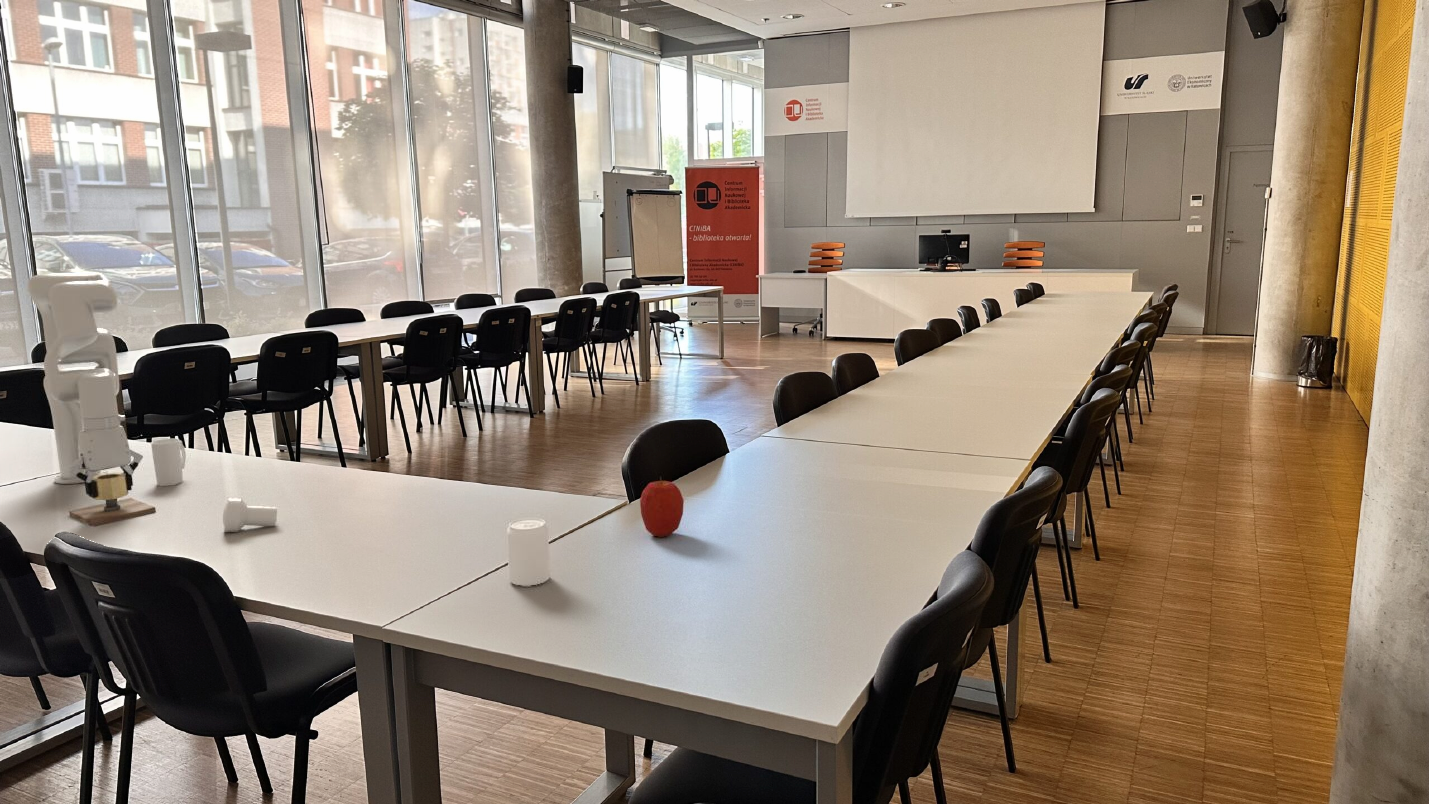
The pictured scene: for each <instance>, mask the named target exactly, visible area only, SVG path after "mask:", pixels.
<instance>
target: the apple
mask: <svg viewBox="0 0 1429 804" xmlns="http://www.w3.org/2000/svg"><path fill="white" fill-rule="evenodd" d="M659 479H660V480H657V481H652V482H649V483H648V484H647V486H645V488H644V489H643V490H642V493H641V496H640V499H639V504H640V505H639V506H640V515H641V518H642V521H643V524H644V527H645V529H646V531H647V532H648V533H650V534H651V535H652V536H653V537H654V536H658V537H657V538H664V537H663V536H665V537H668V536H670V535H672V534H673V533H674V532H675V531H677V530H678V529H679V527H680V524H681V520H682V517H683V515H684V501H685V500H684V498H683V494H682V492H681V490H680V488H679V487H678V486H677V485H676V484H675V482H674V483H673V482H671V481H667V480H662V477H661V476H660V477H659Z"/></svg>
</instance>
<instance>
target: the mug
mask: <svg viewBox="0 0 1429 804" xmlns="http://www.w3.org/2000/svg"><path fill="white" fill-rule="evenodd" d="M150 444H151V452H152V459H153V466H154V472H155V479H156V485H157V486H160V487H167V486H168V487H169V486H174V485H180V484H182V483H184V482H183V481H184V479H183V469H185V466H186V457H187V455H186V449H185V446H184V445H183V441H182V440H180V439H179V438H163V439H161V438H160V439H156V440H153V441H151V442H150Z"/></svg>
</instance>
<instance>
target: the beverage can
mask: <svg viewBox="0 0 1429 804" xmlns="http://www.w3.org/2000/svg"><path fill="white" fill-rule="evenodd" d="M549 543H550V542H549V527H548V526H547V524H546V521H545V520H544V519H541V518H538V517H526V518H525V517H524V518H519V519H518V518H517V519H515V520H513V521H511V522H509V524H508V527H507V529H506V546H507V549H506V550H507V566H508V581H509V582H510V583H511V584H514V585H516V586H518V585H522V586H521V587H531V586H530V585H536V586H538V585H537V584H539V585H541V584H540V583H542V584H543V583H545V582H547V581H548V580H549V579H550V578H551V569H550V567H551V565H550V544H549Z"/></svg>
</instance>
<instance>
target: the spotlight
mask: <svg viewBox="0 0 1429 804" xmlns="http://www.w3.org/2000/svg"><path fill="white" fill-rule="evenodd" d="M226 500H227V502H226V503H225V506H224V508H223V514H222V524H223V526H224V527H223V532H225V533H237V532H239V531H240V530H241V529H242V528H243V527H245V526H251V527H252V526H253V527H275V526H276V523H277V518H278V517H277V516H278V515H277V514H278V506H272V505H271V506H270V505H252V504H251V505H248V504H247V503H246V501H244V499H243V498H242V497H235V496H234V497H233V496H228V497H227V499H226Z"/></svg>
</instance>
